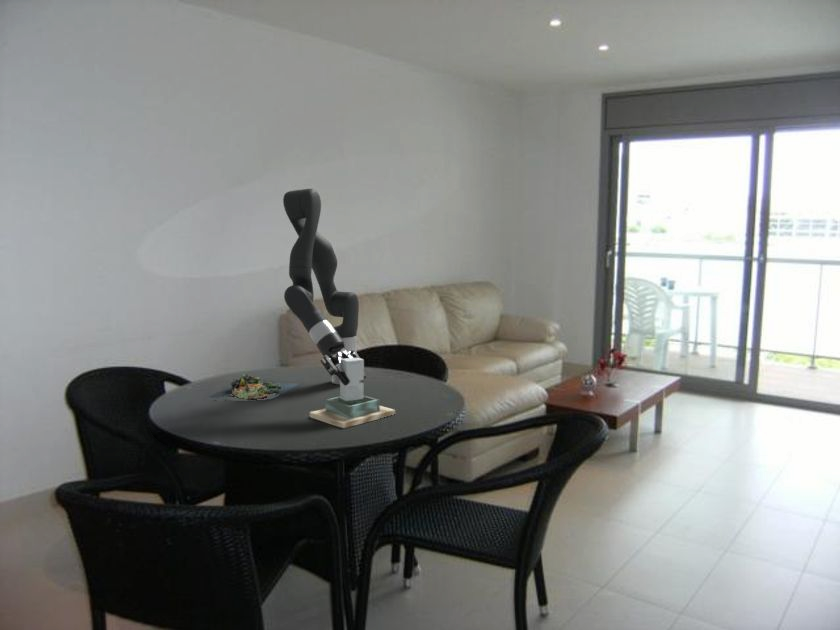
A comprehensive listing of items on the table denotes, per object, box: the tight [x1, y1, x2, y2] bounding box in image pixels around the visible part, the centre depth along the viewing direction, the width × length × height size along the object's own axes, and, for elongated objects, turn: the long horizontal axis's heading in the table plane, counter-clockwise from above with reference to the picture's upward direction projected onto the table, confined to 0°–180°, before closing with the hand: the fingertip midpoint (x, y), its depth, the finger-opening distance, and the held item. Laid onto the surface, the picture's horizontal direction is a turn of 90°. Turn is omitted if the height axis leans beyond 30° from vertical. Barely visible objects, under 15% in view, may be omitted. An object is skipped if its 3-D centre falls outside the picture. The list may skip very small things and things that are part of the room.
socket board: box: [309, 394, 396, 429], centre depth 200 cm, size 20×16×5 cm
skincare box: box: [339, 357, 365, 401], centre depth 198 cm, size 6×4×12 cm
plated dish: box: [209, 373, 301, 400], centre depth 228 cm, size 35×28×7 cm
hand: (355, 381), depth 198 cm, fingers closed on skincare box, 7 cm apart
